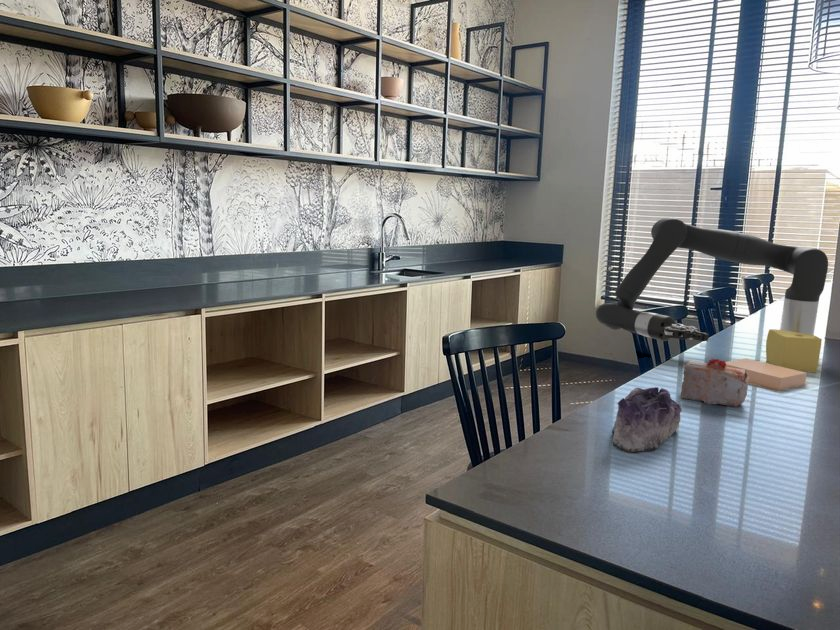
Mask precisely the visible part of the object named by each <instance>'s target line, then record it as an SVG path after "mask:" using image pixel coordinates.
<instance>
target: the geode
mask: <svg viewBox="0 0 840 630" xmlns="http://www.w3.org/2000/svg"><path fill="white" fill-rule="evenodd" d="M617 408H618V410H617V412H616V415H615V417H616V419H615V421H614V425H613V427H612V429H611V434H612V435H613V437H612V446H613V447H615V448H617V449H618V450H620V451H621V452H624V453H627V454H640V453H649V452H650V453H652V452H655V451H656V450H657V449H658V448H659V447H660V446H662V445H663V443H665V442H666V441H667V440H668V439H670V438H671V436H673V434H675V432H676V431H677V429H678V428H679V426H680V422H681V413H682V407H681V406H680V404H679V403H678V402H676V401H675V400H673V398H672V397H671V394H670V392H669V391H668V389H665V388H663V387H662V388H660V390H659V387H656V386H655V387H648V388H644V389H643V388H640V387H635V388H634V389H632V390H631V391H630V392H629V394H628V395H626V396H625V397H623V398H622V399H620V400H619V401H618V402H617Z"/></svg>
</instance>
